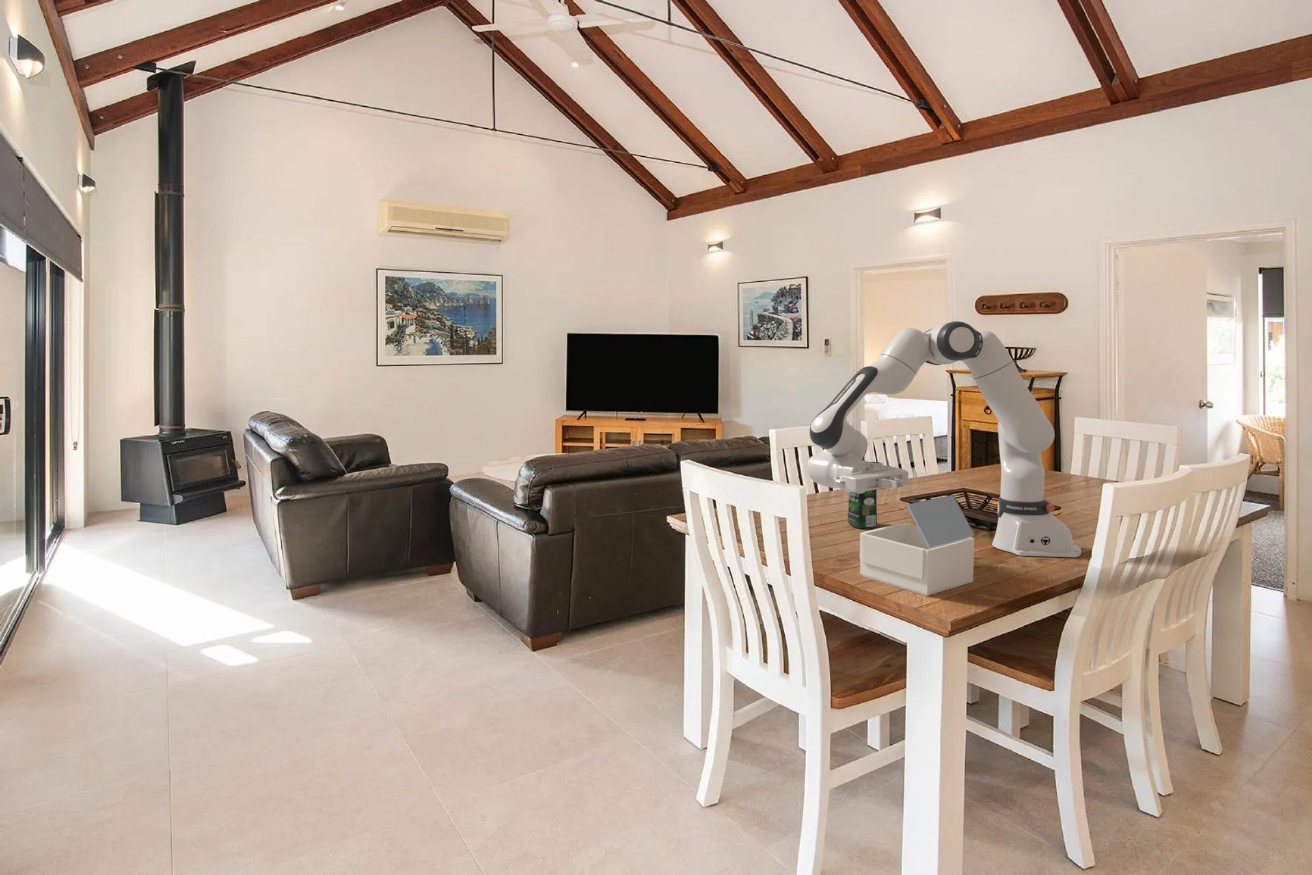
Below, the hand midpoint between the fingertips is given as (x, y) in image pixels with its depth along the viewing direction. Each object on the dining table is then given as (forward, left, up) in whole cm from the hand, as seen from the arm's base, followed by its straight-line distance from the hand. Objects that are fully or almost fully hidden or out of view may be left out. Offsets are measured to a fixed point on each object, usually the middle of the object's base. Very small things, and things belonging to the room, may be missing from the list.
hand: (899, 484), depth 194 cm
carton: (-4, +3, -23) cm, 24 cm away
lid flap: (-10, +7, -7) cm, 14 cm away
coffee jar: (+15, -48, -23) cm, 55 cm away
